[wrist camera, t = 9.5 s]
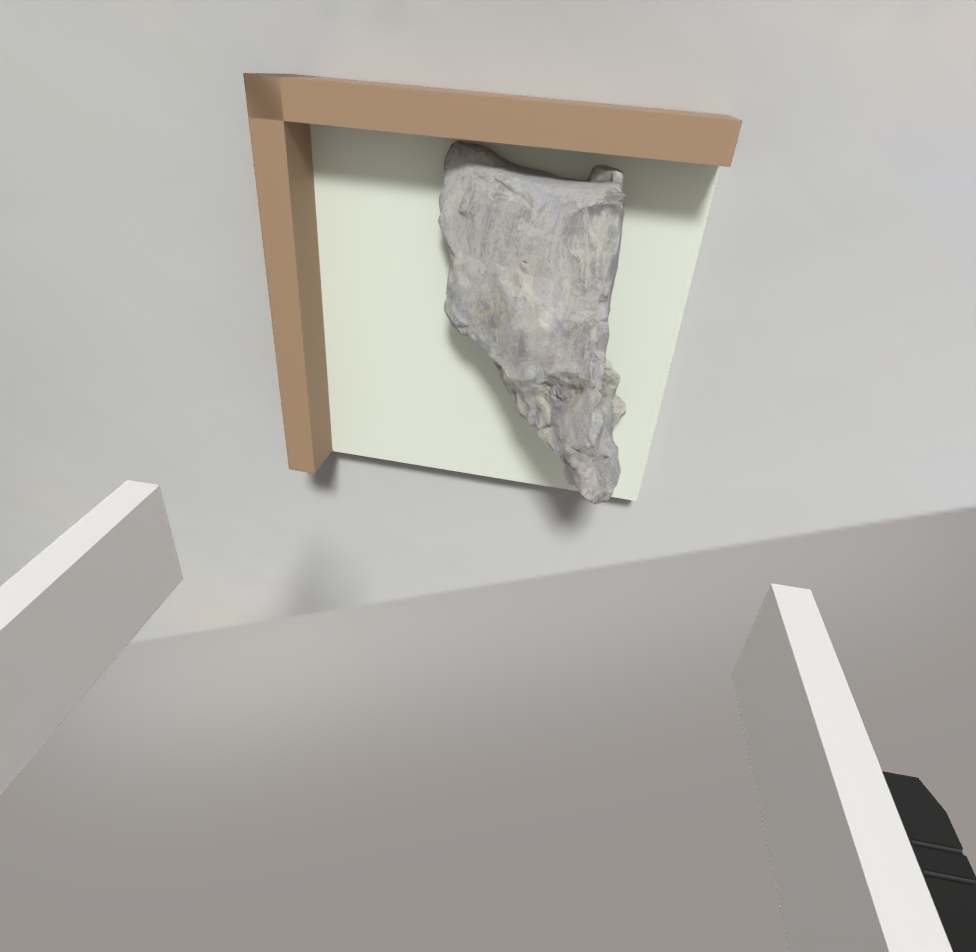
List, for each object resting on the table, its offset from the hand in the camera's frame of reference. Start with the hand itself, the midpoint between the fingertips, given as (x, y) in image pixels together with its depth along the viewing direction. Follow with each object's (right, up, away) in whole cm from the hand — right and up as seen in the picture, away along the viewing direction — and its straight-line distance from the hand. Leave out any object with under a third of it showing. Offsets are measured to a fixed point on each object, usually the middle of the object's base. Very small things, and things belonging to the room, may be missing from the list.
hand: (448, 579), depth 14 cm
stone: (+6, +6, +13) cm, 15 cm away
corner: (+1, +8, +12) cm, 15 cm away
